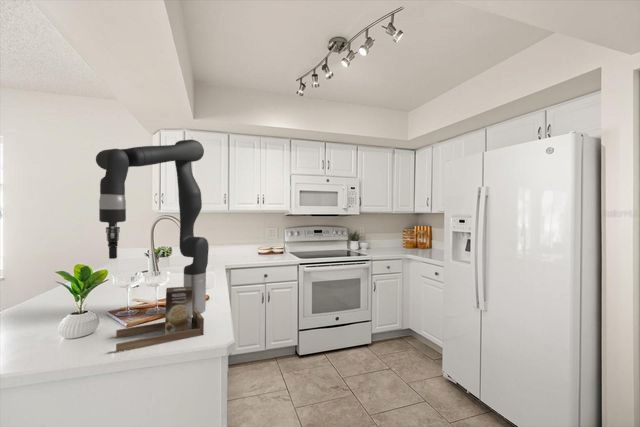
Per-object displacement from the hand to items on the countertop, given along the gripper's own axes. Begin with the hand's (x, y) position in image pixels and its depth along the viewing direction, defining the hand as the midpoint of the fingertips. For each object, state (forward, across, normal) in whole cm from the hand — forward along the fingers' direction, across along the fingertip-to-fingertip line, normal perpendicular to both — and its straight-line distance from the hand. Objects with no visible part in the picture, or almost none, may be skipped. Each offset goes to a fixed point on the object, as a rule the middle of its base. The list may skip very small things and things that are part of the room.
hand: (113, 258), depth 105 cm
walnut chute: (+29, -4, -14) cm, 32 cm away
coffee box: (+29, -3, -20) cm, 36 cm away
